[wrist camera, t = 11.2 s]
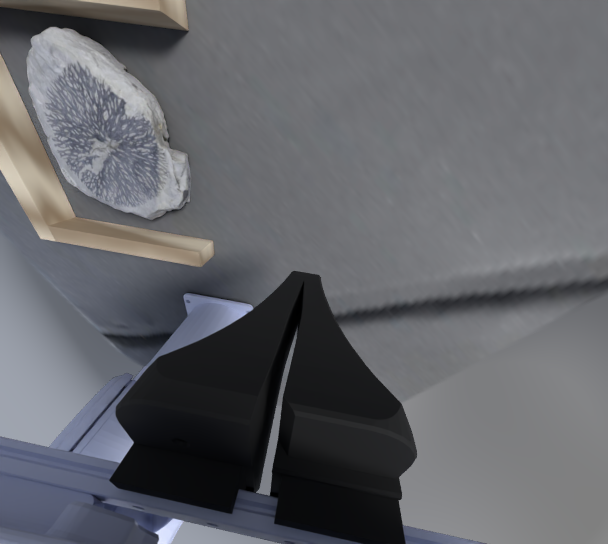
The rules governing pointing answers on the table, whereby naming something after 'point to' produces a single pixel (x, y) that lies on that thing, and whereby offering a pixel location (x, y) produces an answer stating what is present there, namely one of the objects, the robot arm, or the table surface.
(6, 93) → the bay
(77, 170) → the fossil
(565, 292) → the table surface
